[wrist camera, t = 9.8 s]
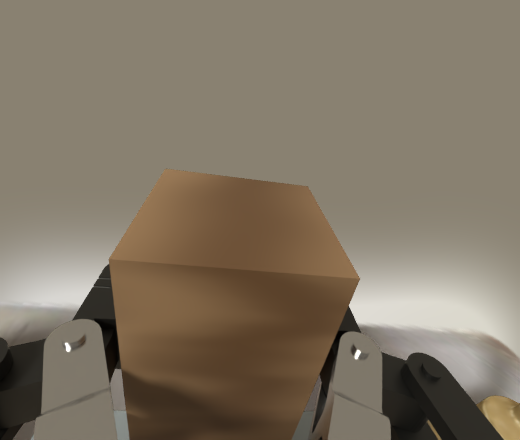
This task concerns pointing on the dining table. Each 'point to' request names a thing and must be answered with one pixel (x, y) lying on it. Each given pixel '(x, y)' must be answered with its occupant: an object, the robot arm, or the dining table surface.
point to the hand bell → (499, 416)
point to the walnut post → (225, 307)
